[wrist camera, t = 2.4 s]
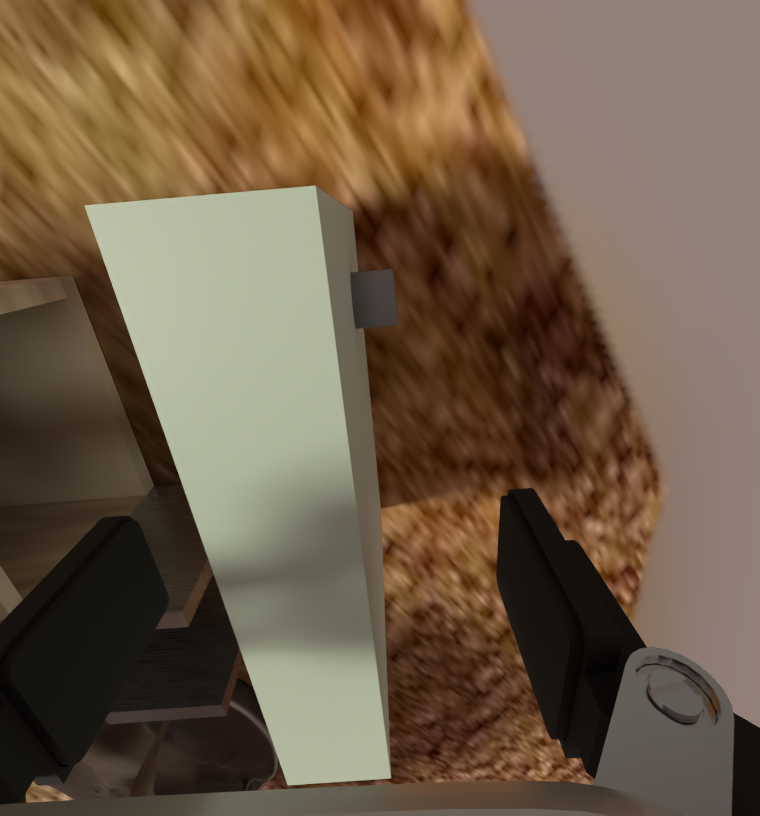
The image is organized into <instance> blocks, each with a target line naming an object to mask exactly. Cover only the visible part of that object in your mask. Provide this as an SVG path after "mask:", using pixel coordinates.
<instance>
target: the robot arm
mask: <svg viewBox="0 0 760 816" xmlns="http://www.w3.org/2000/svg"><path fill="white" fill-rule="evenodd" d="M496 576H497V584H498V588H499V591H500V594H501V597H502V600H503V603H504V606H505V609H506V612H507V615H508V618H509V621H510V624H511V627H512V629H513V632H514V635H515V638H516V641H517V644H518V647H519V650H520V653H521V656H522V659H523V662H524V665H525V667H526V670H527V673H528V676H529V679H530V682H531V685H532V688H533V691H534V694H535V697H536V700H537V703H538V706H539V708H540V711H541V714H542V717H543V720H544V723H545V726H546V729H547V731H548V734H549V736H550V737H551V739H559V741H560V743H561V746H562V749H563V752H564V755H565V757H566V758H581V759H582V762H583V765H584V767H585V770H586V772H587V773H588V774H589V775H590V776H592V777H593V778H594V779H595V780H594V784H593V785H586V784H579V783H572V782H550V781H480V782H436V783H413V784H390V785H368V786H345V787H322V788H300V789H280V790H259V791H239V792H219V793H199V794H179V795H160V796H140V797H122V798H105V799H87V800H69V801H51V802H33V803H26V791H27V790H28V788H29V787H30V785H31V783H32V782H33V780H34V782H35V783H36V784H37V785H55V784H64V783H65V781H66V779H67V778H68V776H69V774H70V772H71V771H72V769H73V767H74V765H75V764H77V763H79V762H80V761H81V760H82V759H83V758H84V756H85V755H86V753H87V752H88V750H89V748H90V746H91V744H92V743H93V741H94V739H95V737H96V735H97V734H98V732H99V730H100V728H101V726H102V725H103V723H104V721H105V719H106V717H107V716H108V714H109V712H110V710H111V708H112V707H113V705H114V703H115V701H116V700H117V698H118V696H119V694H120V692H121V691H122V689H123V687H124V685H125V683H126V682H127V680H128V678H129V676H130V674H131V673H132V671H133V669H134V667H135V665H136V664H137V662H138V660H139V658H140V656H141V655H142V653H143V651H144V649H145V647H146V646H147V644H148V642H149V640H150V639H151V637H152V635H153V633H154V631H155V630H156V628H157V626H158V624H159V622H160V621H161V619H162V617H163V615H164V613H165V612H166V610H167V607H168V603H169V596H168V592H167V590H166V588H165V585H164V583H163V580H162V578H161V575H160V573H159V570H158V568H157V566H156V563H155V561H154V558H153V556H152V553H151V551H150V548H149V546H148V543H147V541H146V539H145V536H144V534H143V531H142V529H141V526H140V524H139V523H138V522H137V521H134V520H133V518H132V517H130V516H112V517H104V518H102V519H101V520H99V521H98V522H97V523H96V524H95V525H94V527H93V528H92V529H91V530H90V531H89V532H88V533H87V534H86V535H85V536H84V537H83V538H82V539H81V540H80V541H79V542H78V543H77V544H76V545H75V546H74V547H73V548H72V549H71V550H70V551H69V552H68V553H67V555H66V556H65V557H64V558H63V559H62V560H61V561H60V562H59V563H58V564H57V565H56V566H55V567H54V568H53V569H52V570H51V571H50V572H49V573H48V574H47V575H46V576H45V577H44V578H43V579H42V580H41V582H40V583H39V584H38V585H37V586H36V587H35V588H34V589H33V590H32V591H31V592H30V593H29V594H28V595H27V596H26V597H25V598H24V599H23V600H22V601H21V602H20V603H19V604H18V605H17V606H16V607H15V608H14V610H13V611H12V612H11V613H10V614H9V615H8V616H7V617H6V618H5V619H4V620H3V621H2V622H1V623H0V816H760V728H759V727H757V726H755V725H754V724H752V723H750V722H748V721H747V720H745V719H743V718H742V717H740V716H738V715H736V714H734V713H733V710H732V705H731V703H730V701H729V699H728V697H727V695H726V693H725V691H724V690H723V689H722V687H721V686H720V685H719V684H718V683H717V681H716V680H715V679H714V678H713V677H712V676H711V675H710V674H709V673H708V672H707V671H705V670H704V669H703V668H702V667H700V666H699V665H698V664H697V663H695V662H693V661H692V660H690V659H688V658H686V657H685V656H683V655H681V654H678V653H676V652H673V651H670V650H668V649H662V648H656V647H648V648H647V647H646V645H645V644H644V642H643V641H642V639H641V638H640V636H639V634H638V633H637V631H636V630H635V628H634V627H633V625H632V624H631V622H630V621H629V619H628V617H627V616H626V614H625V613H624V611H623V610H622V608H621V607H620V605H619V604H618V602H617V601H616V599H615V598H614V596H613V594H612V593H611V591H610V590H609V588H608V587H607V585H606V584H605V582H604V581H603V579H602V578H601V576H600V574H599V573H598V571H597V570H596V568H595V567H594V565H593V564H592V562H591V561H590V559H589V558H588V556H587V555H586V553H585V551H584V550H583V548H582V547H581V546H580V545H579V543H578V542H576V541H575V540H567V541H565V539H564V537H563V536H562V534H561V532H560V531H559V529H558V528H557V526H556V524H555V523H554V521H553V519H552V518H551V516H550V514H549V513H548V511H547V510H546V508H545V506H544V505H543V503H542V501H541V500H540V498H539V497H538V495H537V493H536V492H535V490H534V489H532V488H526V489H511V490H509V491H508V496H502V497H501V504H500V521H499V538H498V556H497V573H496Z"/></svg>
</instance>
